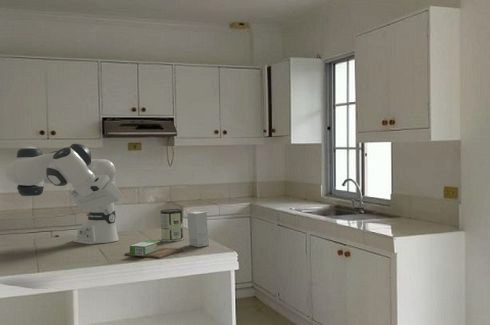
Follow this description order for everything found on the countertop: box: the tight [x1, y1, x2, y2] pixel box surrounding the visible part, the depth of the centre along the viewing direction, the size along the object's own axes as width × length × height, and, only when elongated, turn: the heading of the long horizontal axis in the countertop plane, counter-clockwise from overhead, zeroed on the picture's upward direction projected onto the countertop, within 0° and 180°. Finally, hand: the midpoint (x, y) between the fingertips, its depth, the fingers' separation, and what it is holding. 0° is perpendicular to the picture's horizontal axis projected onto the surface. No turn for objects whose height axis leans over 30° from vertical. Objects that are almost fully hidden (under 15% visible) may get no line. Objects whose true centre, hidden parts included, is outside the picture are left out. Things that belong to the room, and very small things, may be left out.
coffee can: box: [159, 208, 184, 243], centre depth 250 cm, size 10×10×14 cm
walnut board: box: [124, 246, 184, 259], centre depth 219 cm, size 18×16×1 cm
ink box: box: [129, 239, 162, 257], centre depth 216 cm, size 7×4×13 cm
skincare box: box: [187, 210, 210, 248], centre depth 233 cm, size 8×6×15 cm
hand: (109, 213), depth 202 cm, fingers closed
